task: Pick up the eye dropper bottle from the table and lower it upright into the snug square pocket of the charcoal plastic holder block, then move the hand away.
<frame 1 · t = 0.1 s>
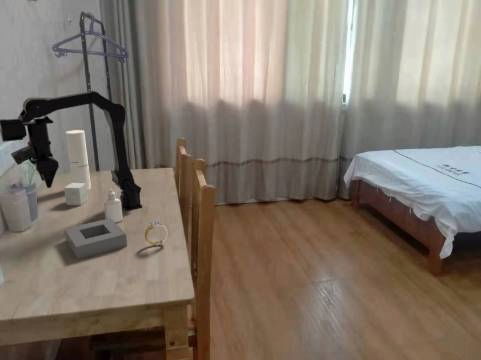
hand: (46, 183, 131), 15 cm above the table, tool pointing down, fingers open, 9 cm apart
holder block: (96, 243, 122), on the table
bracelet: (157, 245, 121), on the table
eye dropper bottle: (114, 221, 138), on the table
product box: (77, 203, 154), on the table
cylindrical container: (82, 189, 170), on the table
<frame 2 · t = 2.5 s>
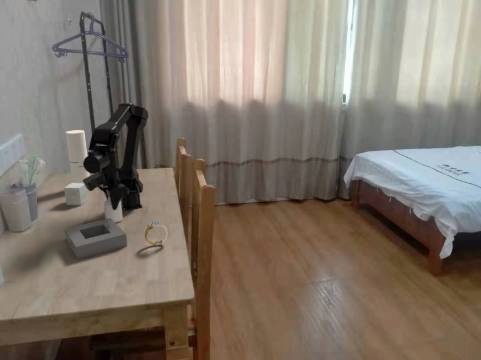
hand: (112, 208, 136), 5 cm above the table, tool pointing down, fingers closed on eye dropper bottle, 3 cm apart
eye dropper bottle: (114, 221, 138), on the table, touching gripper
everything else where it was.
when the fingers open (5 cm above the table, at t = 7.1 s): eye dropper bottle stays where it is, resting in holder block.
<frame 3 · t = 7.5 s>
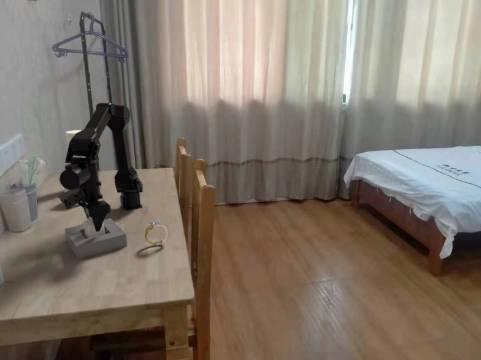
hand: (94, 226, 120), 5 cm above the table, tool pointing down, fingers open, 7 cm apart
eye dropper bottle: (96, 243, 122), resting in holder block
everything else where it was.
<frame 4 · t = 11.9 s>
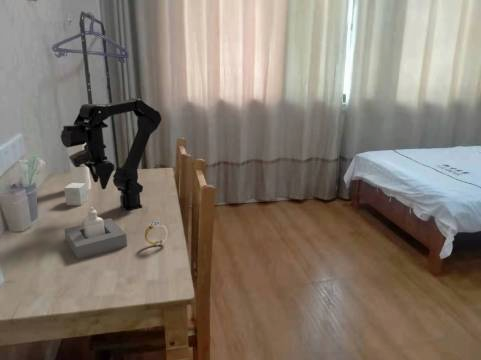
hand: (99, 185, 137), 12 cm above the table, tool pointing down, fingers open, 9 cm apart
nothing on the table moved.
at the end: eye dropper bottle 0.1 cm off-centre on the holder block, point 0.0 cm above the holder block's base; eye dropper bottle tilted 0°; the gripper is holding nothing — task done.
